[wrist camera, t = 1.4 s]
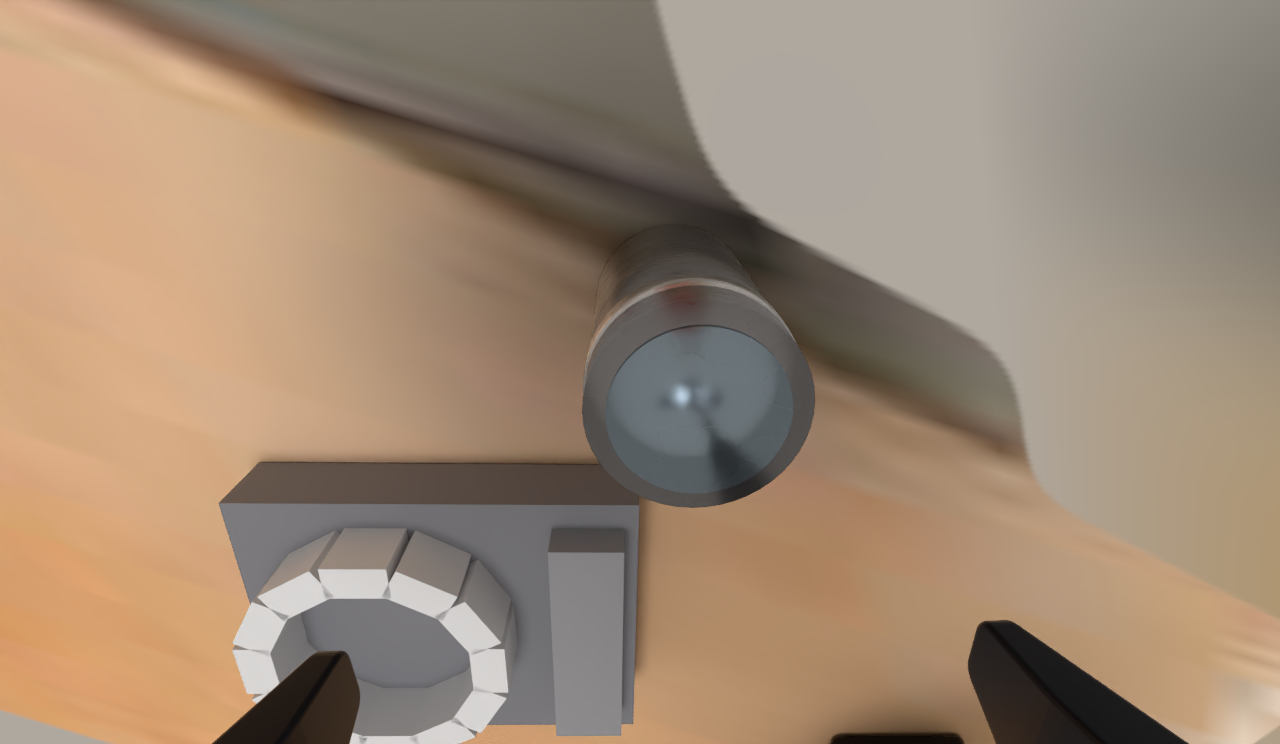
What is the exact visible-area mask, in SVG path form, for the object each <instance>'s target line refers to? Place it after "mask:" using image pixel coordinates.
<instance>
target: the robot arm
mask: <svg viewBox="0 0 1280 744" xmlns="http://www.w3.org/2000/svg"><path fill="white" fill-rule="evenodd" d="M968 671H969V675H970V679H971V682H972V684H973V687H974V689H975V692H976V694H977V697H978V699H979V702H980V704H981V707H982V709H983V712H984V714H985V717H986V719H987V722H988V724H989V727H990V729H991V732H992V734H993V737H994V739H995V742H996V744H1188V743H1187V742H1186V741H1184V740H1183V739H1181V738H1180V737H1178V736H1177V735H1175V734H1174V733H1173V732H1171V731H1170V730H1168V729H1167V728H1165V727H1164V726H1162V725H1161V724H1160V723H1158V722H1157V721H1155V720H1154V719H1152V718H1151V717H1150V716H1148V715H1147V714H1145V713H1144V712H1142V711H1141V710H1139V709H1138V708H1137V707H1135V706H1134V705H1132V704H1131V703H1129V702H1128V701H1127V700H1125V699H1124V698H1122V697H1121V696H1119V695H1118V694H1116V693H1115V692H1114V691H1112V690H1111V689H1109V688H1108V687H1106V686H1105V685H1104V684H1102V683H1101V682H1099V681H1098V680H1096V679H1095V678H1093V677H1092V676H1091V675H1089V674H1088V673H1086V672H1085V671H1083V670H1082V669H1081V668H1079V667H1078V666H1076V665H1075V664H1073V663H1072V662H1070V661H1069V660H1068V659H1066V658H1065V657H1063V656H1062V655H1060V654H1059V653H1058V652H1056V651H1055V650H1053V649H1052V648H1050V647H1049V646H1047V645H1046V644H1045V643H1043V642H1042V641H1040V640H1039V639H1037V638H1036V637H1035V636H1033V635H1032V634H1030V633H1029V632H1027V631H1026V630H1024V629H1023V628H1022V627H1020V626H1019V625H1017V624H1015V623H1014V622H1011V621H1008V620H997V621H984V622H981V623H980V624H979V625H978V627H977V630H976V634H975V637H974V641H973V645H972V648H971V652H970V656H969V659H968ZM359 706H360V688H359V685H358V682H357V678H356V675H355V672H354V669H353V666H352V663H351V660H350V657H349V655H348V654H347V653H346V652H345V651H342V650H337V651H320V652H316V653H314V654H313V655H311V656H310V657H309V658H307V659H306V660H305V661H304V662H303V663H302V664H301V665H300V666H298V667H297V668H296V669H295V670H294V671H293V672H292V673H291V674H289V675H288V676H287V677H286V678H285V679H284V680H283V681H282V682H281V683H279V684H278V685H277V686H276V687H275V688H274V689H273V690H272V691H270V692H269V693H268V694H267V695H266V696H265V697H264V698H263V699H261V700H260V701H259V702H258V703H257V704H256V705H255V706H254V707H252V708H251V709H250V710H249V711H248V712H247V713H246V714H245V715H244V716H242V717H241V718H240V719H239V720H238V721H237V722H236V723H235V724H233V725H232V726H231V727H230V728H229V729H228V730H227V731H226V732H224V733H223V734H222V735H221V736H220V737H219V738H218V739H217V740H216V741H214V742H213V743H212V744H350V740H351V736H352V733H353V729H354V725H355V721H356V718H357V714H358V710H359ZM832 744H965V743H964V741H963V740H962V738H960V737H843V738H838V739H836V740H834V741H833V742H832Z"/></svg>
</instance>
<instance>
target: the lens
mask: <svg viewBox="0 0 1280 744" xmlns="http://www.w3.org/2000/svg"><path fill="white" fill-rule="evenodd" d="M583 393H584V394H583V407H582V414H583V424H584V429H585V433H586V437H587V440H588V442H589V444H590V447H591V449H592V451H593V453H594V455H595V456H596V458H597V460H598V461H599V463H600V464H601V465H602V466H603V468H604V469H605V470H606V471H607V472H608V473H609V474H610V475H611V476H612V477H613V478H614V479H615V480H616V481H617V482H618V483H620V484H621V485H622V486H624V487H625V488H626V489H628V490H630V491H632V492H633V493H635V494H637V495H639V496H641V497H644V498H646V499H648V500H651V501H654V502H658V503H661V504H665V505H671V506H676V507H691V508H693V507H708V506H715V505H721V504H724V503H728V502H732V501H735V500H738V499H740V498H743V497H745V496H748V495H750V494H751V493H753V492H755V491H757V490H759V489H761V488H762V487H764V486H765V485H767V484H768V483H770V482H771V481H772V480H774V479H775V478H776V477H777V476H778V475H779V474H781V473H782V472H783V471H784V470H785V469H786V467H787V466H788V465H789V464H790V463H791V462H792V461H793V459H794V458H795V456H796V455H797V454H798V452H799V451H800V449H801V447H802V445H803V444H804V442H805V440H806V438H807V435H808V432H809V430H810V427H811V423H812V419H813V415H814V405H815V393H814V384H813V379H812V374H811V371H810V369H809V366H808V363H807V361H806V359H805V357H804V355H803V353H802V352H801V350H800V348H799V347H798V345H797V344H796V341H795V339H794V337H793V335H792V334H791V332H790V330H789V328H788V327H787V325H786V324H785V323H784V321H783V320H782V318H781V317H780V316H779V314H778V313H777V312H776V311H775V309H774V308H773V307H772V306H771V305H770V304H769V303H768V302H767V301H766V299H765V298H764V297H763V295H762V294H761V292H760V291H759V289H758V288H757V287H756V285H755V284H754V282H753V281H752V279H751V278H750V276H749V275H748V274H747V272H746V271H745V269H744V268H743V266H742V265H741V264H740V262H739V261H738V259H737V258H736V256H735V255H734V254H733V253H732V251H731V250H730V249H729V248H728V247H727V246H726V245H725V244H724V243H723V242H722V241H721V240H720V239H718V238H717V237H715V236H714V235H712V234H710V233H708V232H707V231H704V230H702V229H699V228H696V227H692V226H688V225H680V224H668V225H661V226H655V227H652V228H649V229H646V230H644V231H641V232H639V233H637V234H635V235H634V236H632V237H631V238H629V239H628V240H626V241H625V242H624V243H623V244H622V245H620V246H619V247H618V249H617V250H616V251H615V252H614V253H613V254H612V256H611V257H610V259H609V260H608V262H607V263H606V265H605V267H604V269H603V272H602V275H601V277H600V281H599V286H598V291H597V299H596V306H595V313H594V321H593V328H592V335H591V343H590V346H589V349H588V353H587V358H586V364H585V371H584V381H583Z"/></svg>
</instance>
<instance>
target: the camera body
mask: <svg viewBox="0 0 1280 744" xmlns="http://www.w3.org/2000/svg"><path fill="white" fill-rule="evenodd" d="M219 506H220V510H221V513H222V516H223V519H224V522H225V525H226V529H227V532H228V535H229V538H230V541H231V545H232V548H233V551H234V554H235V557H236V560H237V564H238V567H239V570H240V573H241V576H242V579H243V583H244V586H245V589H246V592H247V595H248V599H249V602H250V607H249V609H248V611H247V613H246V616H245V618H244V620H243V622H242V624H241V626H240V628H239V631H238V633H237V635H236V637H235V639H234V641H233V643H232V644H235V647H234V648H233V650H232V651H233V654H234V657H235V660H236V662H237V665H238V668H239V671H240V674H241V677H242V680H243V683H244V686H245V689H246V692H247V694H255V695H254V697H253V698H252V700H253V701H254V702H255V703H256V704H257V703H258V702H259V701H260V700H261V699H263V698H264V697H265V696H266V695H267V694H268V693H269V692H270V691H272V690H273V689H274V688H275V687H276V686H277V685H278V684H279V683H281V682H282V681H283V680H284V679H285V678H286V677H287V676H288V675H289V674H291V673H292V672H293V671H294V670H295V669H296V668H297V667H298V666H300V665H301V664H302V663H303V662H304V661H305V660H306V659H307V658H309V657H310V656H311V655H313V654H314V653H316V652H320V651H337V650H342V651H345V652H346V653H347V654H348V655H349V657H350V660H351V663H352V666H353V669H354V672H355V675H356V678H357V682H358V685H359V688H360V706H359V710H358V714H357V718H356V721H355V725H354V729H353V733H352V736H351V740H350V744H459V743H462V742H464V741H467V740H469V739H472V738H474V737H476V733H477V732H480V733H481V732H482V731H483V730H484V728H485V727H486V726H487V725H554V724H556V734H557V736H621V724H633V708H634V674H635V639H636V604H637V570H638V535H639V495H637V494H635V493H633V492H632V491H630V490H628V489H626V488H625V487H624V486H622V485H621V484H620V483H618V482H617V481H616V480H615V479H614V478H613V477H612V476H611V475H610V474H609V473H608V472H607V471H606V470H605V469H604V468H603V466H602V465H565V464H424V463H284V462H259V463H258V464H257V465H256V466H255V467H254V468H253V469H252V470H251V471H250V472H249V473H248V474H247V475H246V476H245V477H244V478H243V479H242V480H241V481H240V482H239V483H238V484H237V485H236V486H235V487H234V488H233V489H232V490H231V491H230V492H229V493H228V494H227V495H226V496H225V497H224V498H223V499H222V500H221V501H220V502H219Z"/></svg>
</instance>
